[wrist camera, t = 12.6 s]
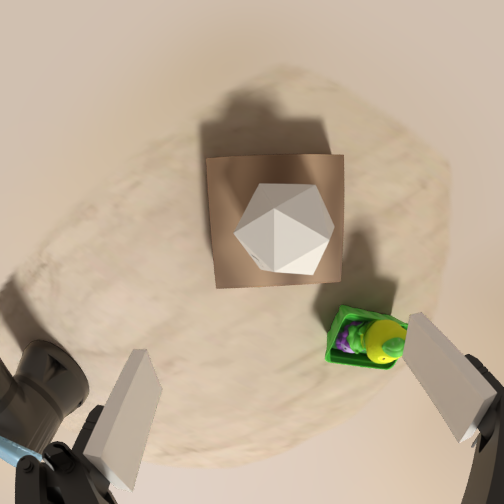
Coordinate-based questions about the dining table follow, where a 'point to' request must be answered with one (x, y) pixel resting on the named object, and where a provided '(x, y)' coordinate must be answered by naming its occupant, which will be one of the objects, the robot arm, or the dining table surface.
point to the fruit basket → (365, 339)
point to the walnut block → (238, 197)
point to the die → (285, 228)
